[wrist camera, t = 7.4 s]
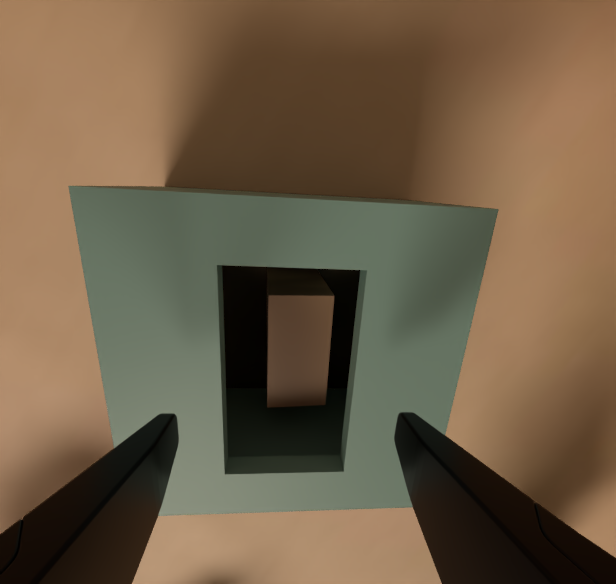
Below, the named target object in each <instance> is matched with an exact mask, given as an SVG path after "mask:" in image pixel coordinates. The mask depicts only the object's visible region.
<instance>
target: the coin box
mask: <svg viewBox="0 0 616 584" xmlns="http://www.w3.org/2000/svg"><path fill="white" fill-rule="evenodd" d="M69 192H70V198H71V203H72V209H73V215H74V221H75V226H76V232H77V238H78V244H79V249H80V255H81V261H82V267H83V272H84V278H85V284H86V290H87V295H88V301H89V307H90V313H91V318H92V324H93V330H94V336H95V341H96V347H97V353H98V358H99V364H100V370H101V376H102V381H103V387H104V393H105V399H106V404H107V410H108V416H109V422H110V427H111V433H112V439H113V445H114V448H115V447H116V446H118V445H119V444H120V443H122V442H123V441H124V440H125V439H127V438H128V437H129V436H131V435H132V434H133V433H135V432H136V431H137V430H139V429H140V428H141V427H143V426H144V425H145V424H147V423H148V422H149V421H151V420H152V419H153V418H154V417H156V416H157V415H159V414H161V413H174V414H176V416H177V422H178V433H179V444H178V448H177V452H176V456H175V459H174V463H173V467H172V470H171V474H170V478H169V481H168V485H167V489H166V492H165V496H164V499H163V503H162V506H161V509H160V512H159V515H158V516H170V515H199V514H229V513H258V512H288V511H317V510H347V509H376V508H405V507H413V506H412V503H411V500H410V497H409V494H408V490H407V487H406V483H405V479H404V476H403V472H402V468H401V465H400V461H399V457H398V453H397V450H396V446H395V441H394V434H395V428H396V423H397V417H398V414H399V413H400V412H413V413H415V414H417V415H418V416H419V417H421V418H422V419H423V420H425V421H426V422H428V423H429V424H430V425H432V426H433V427H434V428H436V429H437V430H438V431H440V432H441V433H442V434H444V435H445V434H446V429H447V425H448V421H449V417H450V412H451V408H452V404H453V400H454V395H455V391H456V387H457V383H458V379H459V374H460V370H461V366H462V362H463V357H464V353H465V349H466V345H467V340H468V336H469V332H470V328H471V323H472V319H473V315H474V311H475V307H476V302H477V298H478V294H479V290H480V285H481V281H482V277H483V273H484V268H485V264H486V260H487V256H488V252H489V247H490V243H491V239H492V235H493V230H494V226H495V222H496V218H497V213H498V209H491V208H481V207H471V206H461V205H451V204H441V203H431V202H421V201H411V200H395V199H377V198H359V197H341V196H323V195H305V194H287V193H269V192H251V191H233V190H215V189H197V188H179V187H147V186H69ZM222 265H228V266H257V267H285V268H314V269H343V270H360V278H359V287H358V296H357V305H356V314H355V323H354V333H353V342H352V351H351V360H350V369H349V378H348V387H347V388H327V392H326V404H325V405H314V406H292V407H270V408H267V388H226V371H225V340H224V308H223V277H222Z"/></svg>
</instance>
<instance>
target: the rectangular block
mask: <svg viewBox="0 0 616 584" xmlns="http://www.w3.org/2000/svg"><path fill="white" fill-rule="evenodd" d="M333 307H334V294H333V293H332V291H331V290H330V288H329V287H328V285H327V284H326V282H325V281H324V279H323V278H322V276H321V274H320V273H319V271H318V270H317V269H314V268H285V267H267V318H266V370H267V408H270V407H292V406H314V405H325V404H326V392H327V379H328V367H329V355H330V343H331V331H332V319H333Z"/></svg>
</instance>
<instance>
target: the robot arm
mask: <svg viewBox="0 0 616 584" xmlns="http://www.w3.org/2000/svg"><path fill="white" fill-rule="evenodd" d="M394 441H395V446H396V450H397V453H398V457H399V461H400V465H401V468H402V472H403V476H404V479H405V483H406V487H407V490H408V494H409V497H410V500H411V503H412V506H413V509H414V511H415V514H416V517H417V519H418V522H419V525H420V527H421V530H422V532H423V535H424V538H425V540H426V543H427V546H428V548H429V551H430V553H431V556H432V559H433V561H434V564H435V567H436V569H437V572H438V574H439V577H440V580H441V582H442V584H616V558H615V557H614V556H612V555H611V554H609V553H608V552H606V551H605V550H603V549H602V548H600V547H599V546H597V545H596V544H594V543H593V542H591V541H590V540H588V539H587V538H585V537H584V536H582V535H581V534H579V533H578V532H577V531H575V530H574V529H572V528H571V527H570V526H568V525H567V524H565V523H564V522H563V521H561V520H560V519H558V518H557V517H556V516H554V515H553V514H551V513H550V512H549V511H547V510H546V509H545V508H543V507H542V506H541V505H539V504H538V503H534V501H533V500H532V499H531V498H530V497H528V496H527V495H525V494H524V493H523V492H521V491H520V490H519V489H517V488H516V487H515V486H513V485H512V484H511V483H509V482H508V481H506V480H505V479H504V478H502V477H501V476H500V475H498V474H497V473H496V472H494V471H493V470H491V469H490V468H489V467H487V466H486V465H485V464H483V463H482V462H481V461H479V460H478V459H477V458H475V457H474V456H472V455H471V454H470V453H468V452H467V451H466V450H464V449H463V448H462V447H460V446H459V445H457V444H456V443H455V442H453V441H452V440H451V439H449V438H448V437H447V436H445V435H444V434H442V433H441V432H440V431H438V430H437V429H436V428H434V427H433V426H432V425H430V424H429V423H428V422H426V421H425V420H423V419H422V418H421V417H419V416H418V415H417V414H415V413H413V412H400V413H399V414H398V417H397V423H396V428H395V434H394ZM178 444H179V433H178V422H177V416H176V414H174V413H161V414H159V415H157V416H156V417H154V418H153V419H152V420H151V421H149V422H148V423H147V424H145V425H144V426H143V427H141V428H140V429H139V430H137V431H136V432H135V433H133V434H132V435H131V436H129V437H128V438H127V439H125V440H124V441H123V442H122V443H120V444H119V445H118V446H116V447H115V448H114V449H112V450H111V451H110V452H108V453H107V454H106V455H104V456H103V457H102V458H100V459H99V460H98V461H96V462H95V463H94V464H93V465H91V466H90V467H89V468H87V469H86V470H85V471H83V472H82V473H81V474H79V475H78V476H77V477H75V478H74V479H73V480H71V481H70V482H69V483H67V484H66V485H65V486H64V487H62V488H61V489H60V490H58V491H57V492H56V493H54V494H53V495H52V496H50V497H49V498H48V499H46V500H45V501H44V502H42V503H41V504H40V505H38V506H37V507H36V508H35V509H33V510H32V511H31V512H29V513H28V514H27V515H25V516H24V518H23V520H19V521H17V522H16V523H15V524H13V525H12V526H11V527H9V528H8V529H7V530H5V531H4V532H3V533H1V534H0V584H132V582H133V579H134V577H135V574H136V572H137V569H138V567H139V564H140V561H141V559H142V556H143V554H144V551H145V548H146V546H147V543H148V541H149V538H150V535H151V533H152V530H153V528H154V525H155V523H156V520H157V517H158V515H159V512H160V509H161V506H162V503H163V499H164V496H165V492H166V489H167V485H168V481H169V478H170V474H171V470H172V467H173V463H174V459H175V456H176V452H177V448H178Z"/></svg>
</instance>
